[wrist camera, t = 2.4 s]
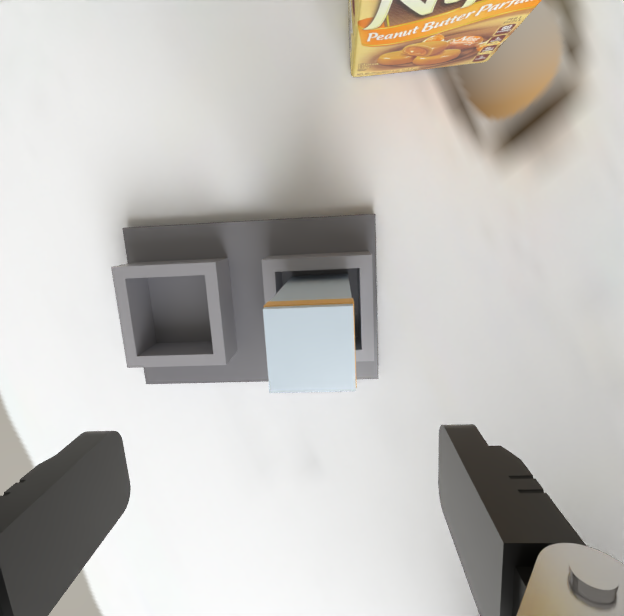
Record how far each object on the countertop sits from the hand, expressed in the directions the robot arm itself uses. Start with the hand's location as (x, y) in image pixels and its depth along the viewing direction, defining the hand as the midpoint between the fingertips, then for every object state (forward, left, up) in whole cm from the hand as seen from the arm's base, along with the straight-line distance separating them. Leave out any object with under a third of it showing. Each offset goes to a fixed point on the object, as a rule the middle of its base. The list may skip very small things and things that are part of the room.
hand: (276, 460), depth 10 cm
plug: (0, 0, -19) cm, 19 cm away
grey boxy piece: (+5, 0, -20) cm, 21 cm away
